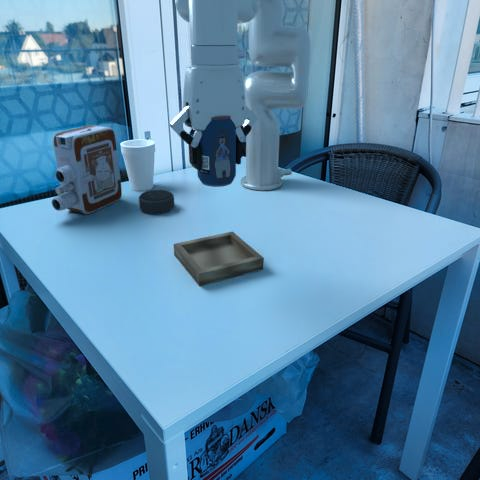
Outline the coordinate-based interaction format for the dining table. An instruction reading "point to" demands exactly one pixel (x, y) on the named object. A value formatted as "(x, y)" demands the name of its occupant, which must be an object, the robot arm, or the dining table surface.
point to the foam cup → (139, 163)
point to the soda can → (218, 153)
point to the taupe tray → (217, 257)
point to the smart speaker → (156, 201)
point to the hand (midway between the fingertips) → (216, 164)
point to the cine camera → (86, 169)
